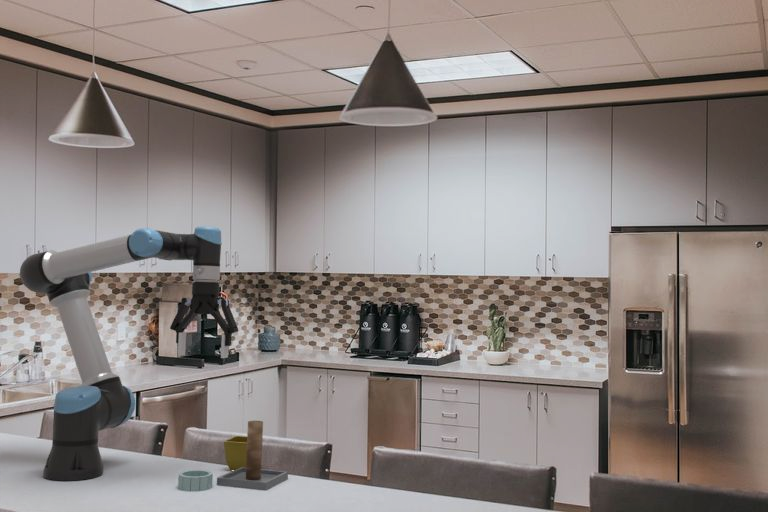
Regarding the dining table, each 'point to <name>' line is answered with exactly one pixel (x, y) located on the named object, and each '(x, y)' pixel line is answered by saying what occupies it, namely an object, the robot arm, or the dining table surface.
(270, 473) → the tray
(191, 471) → the crock
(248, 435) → the cylinder
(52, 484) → the dining table surface
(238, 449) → the flower pot
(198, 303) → the robot arm
